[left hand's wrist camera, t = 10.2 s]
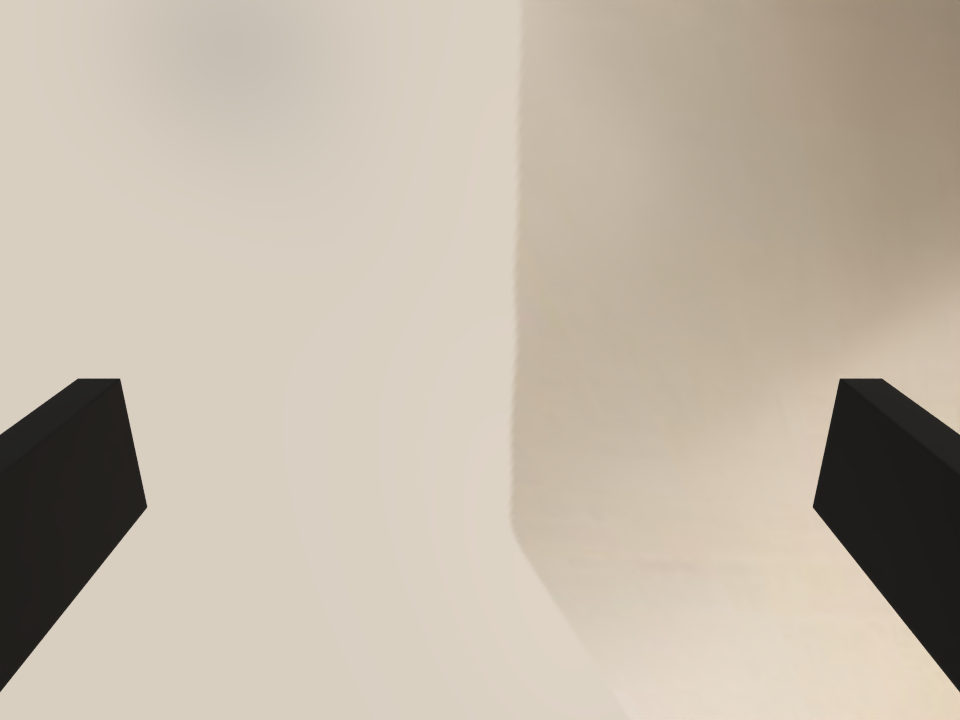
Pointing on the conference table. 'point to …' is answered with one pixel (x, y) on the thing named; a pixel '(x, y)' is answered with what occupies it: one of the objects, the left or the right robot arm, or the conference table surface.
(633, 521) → the conference table surface
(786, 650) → the conference table surface
